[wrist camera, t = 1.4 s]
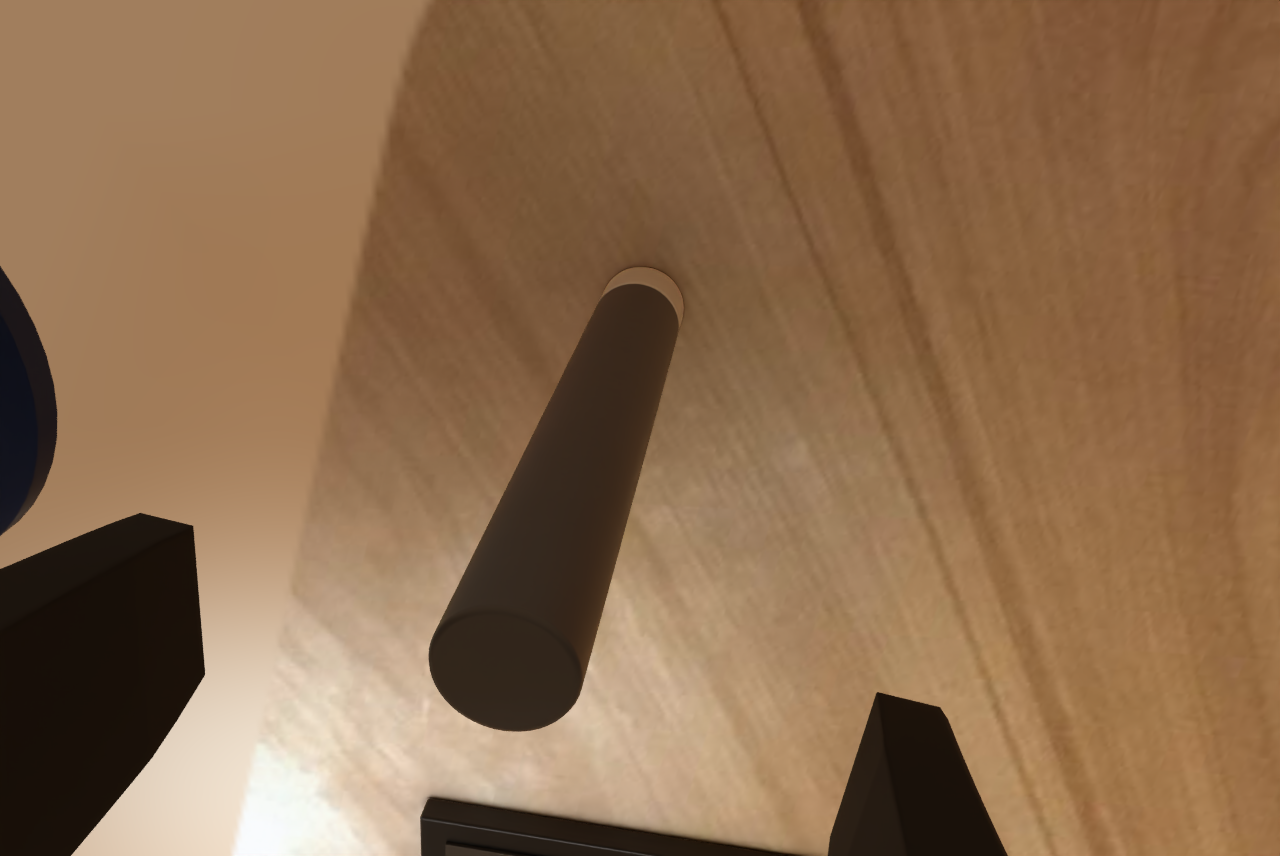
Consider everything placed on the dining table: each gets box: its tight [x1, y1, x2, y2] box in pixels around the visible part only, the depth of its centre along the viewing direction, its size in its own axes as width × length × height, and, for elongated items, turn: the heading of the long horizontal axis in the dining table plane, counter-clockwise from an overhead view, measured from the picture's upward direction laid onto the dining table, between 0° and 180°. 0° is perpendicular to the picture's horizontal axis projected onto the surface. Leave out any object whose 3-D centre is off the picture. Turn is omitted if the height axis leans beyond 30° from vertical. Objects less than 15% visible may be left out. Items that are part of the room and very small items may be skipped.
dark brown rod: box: [429, 267, 684, 731], centre depth 15 cm, size 2×2×11 cm
